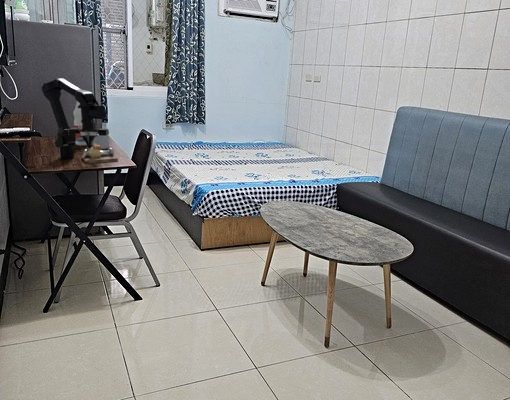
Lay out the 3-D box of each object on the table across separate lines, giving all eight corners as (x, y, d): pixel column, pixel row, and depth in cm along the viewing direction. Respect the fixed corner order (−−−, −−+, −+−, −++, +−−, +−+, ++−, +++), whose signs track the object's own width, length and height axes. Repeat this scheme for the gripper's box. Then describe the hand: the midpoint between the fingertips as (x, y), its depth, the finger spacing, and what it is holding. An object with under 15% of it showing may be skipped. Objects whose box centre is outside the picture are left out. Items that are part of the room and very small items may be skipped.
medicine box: (105, 147, 266) (104, 133, 263) (109, 148, 263) (108, 133, 260) (93, 148, 260) (92, 134, 257) (97, 150, 257) (96, 135, 254)
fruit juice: (94, 143, 276) (91, 97, 268) (88, 146, 267) (84, 99, 259) (80, 142, 277) (76, 97, 268) (73, 145, 268) (68, 98, 259)
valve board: (86, 163, 223) (85, 150, 221) (81, 158, 234) (80, 145, 232) (118, 161, 231) (117, 148, 229) (112, 156, 242) (111, 143, 240)
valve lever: (91, 146, 231) (90, 142, 231) (96, 145, 233) (96, 142, 232) (95, 150, 222) (95, 146, 222) (100, 149, 223) (100, 146, 223)
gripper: (110, 116, 228) (112, 146, 232) (73, 115, 226) (76, 145, 231) (104, 119, 217) (107, 150, 222) (66, 118, 216) (69, 149, 220)
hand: (90, 148), depth 224 cm, fingers closed
